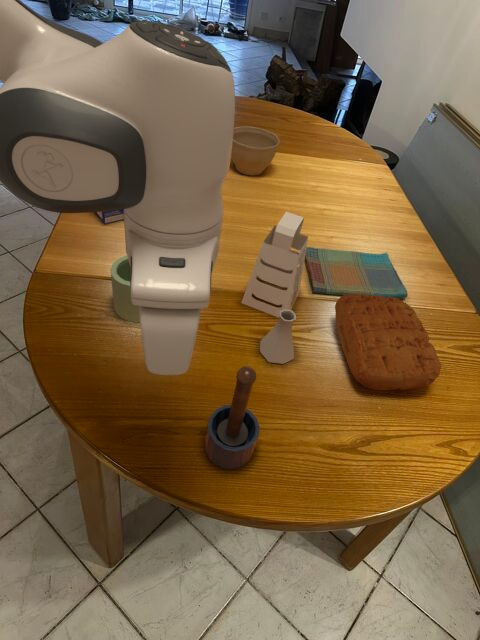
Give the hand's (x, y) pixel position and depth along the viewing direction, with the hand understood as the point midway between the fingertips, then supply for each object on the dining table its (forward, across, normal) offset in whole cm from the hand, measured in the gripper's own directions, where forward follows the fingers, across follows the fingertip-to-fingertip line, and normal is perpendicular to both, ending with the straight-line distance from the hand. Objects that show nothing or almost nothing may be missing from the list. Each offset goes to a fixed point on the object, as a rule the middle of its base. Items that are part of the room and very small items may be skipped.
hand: (169, 335), depth 49 cm
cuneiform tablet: (+24, -20, +42) cm, 53 cm away
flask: (+25, -20, +21) cm, 38 cm away
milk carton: (+24, -65, -16) cm, 71 cm away
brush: (+24, +1, +10) cm, 26 cm away
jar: (+24, -31, -6) cm, 40 cm away
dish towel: (+24, -45, +45) cm, 68 cm away
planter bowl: (+24, -100, +24) cm, 105 cm away
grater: (+24, -36, +22) cm, 49 cm away
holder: (+25, +1, +10) cm, 27 cm away
